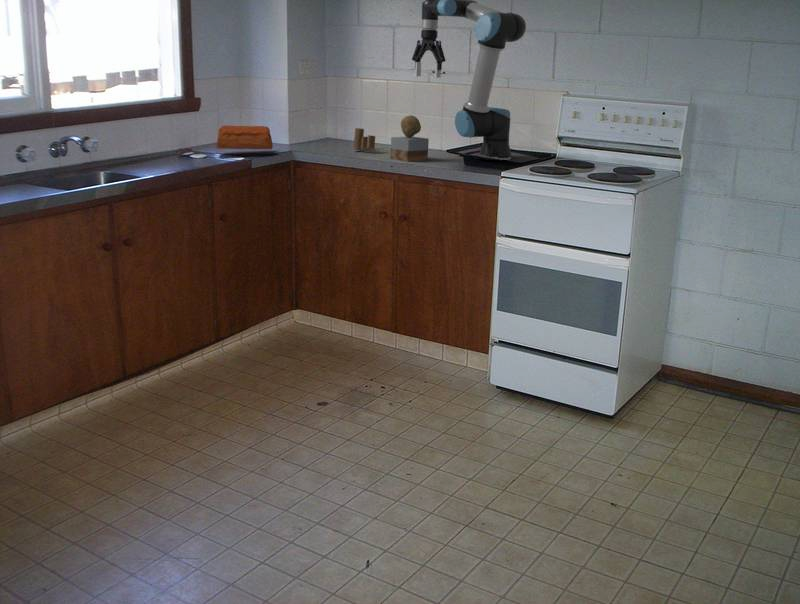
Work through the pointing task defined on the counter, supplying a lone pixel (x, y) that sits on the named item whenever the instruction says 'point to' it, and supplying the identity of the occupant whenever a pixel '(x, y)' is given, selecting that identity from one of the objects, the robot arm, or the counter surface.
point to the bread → (244, 137)
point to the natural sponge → (410, 126)
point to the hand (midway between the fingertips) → (427, 77)
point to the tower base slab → (409, 155)
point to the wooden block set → (363, 140)
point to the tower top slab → (409, 143)
